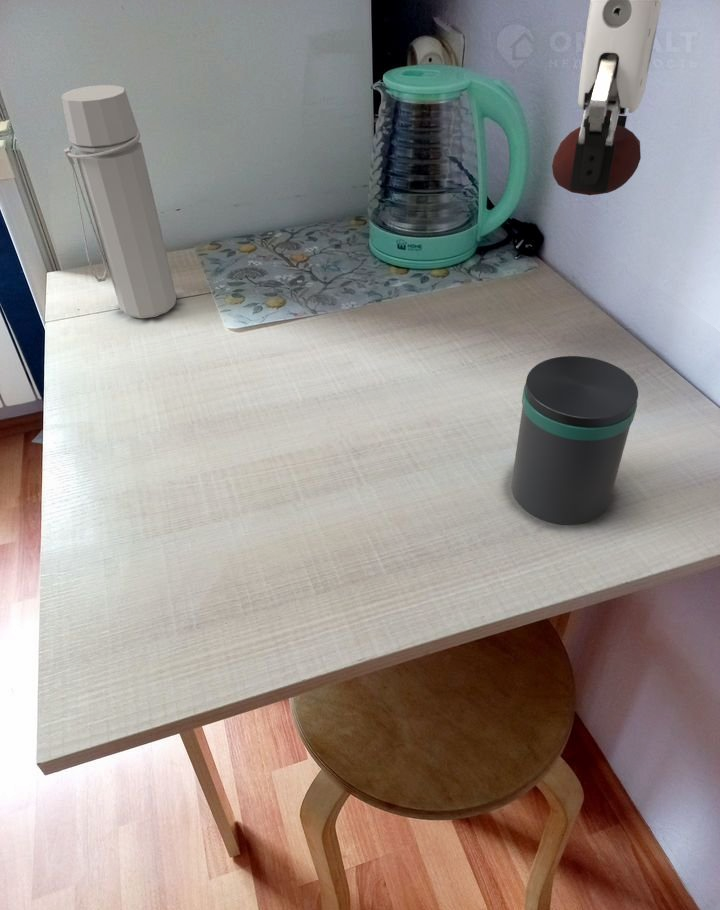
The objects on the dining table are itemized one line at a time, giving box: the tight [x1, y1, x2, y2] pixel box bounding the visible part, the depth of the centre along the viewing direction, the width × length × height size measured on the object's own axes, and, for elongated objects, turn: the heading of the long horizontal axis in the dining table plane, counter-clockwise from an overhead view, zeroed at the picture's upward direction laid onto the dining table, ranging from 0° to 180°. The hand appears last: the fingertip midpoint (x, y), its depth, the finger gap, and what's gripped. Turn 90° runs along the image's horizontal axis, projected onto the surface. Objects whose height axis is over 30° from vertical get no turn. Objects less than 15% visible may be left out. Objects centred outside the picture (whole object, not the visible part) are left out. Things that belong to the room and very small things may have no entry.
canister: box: [511, 355, 639, 526], centre depth 58 cm, size 9×9×11 cm
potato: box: [551, 125, 642, 196], centre depth 65 cm, size 7×8×6 cm
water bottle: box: [61, 84, 177, 319], centre depth 82 cm, size 9×8×25 cm
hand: (595, 173), depth 66 cm, fingers closed on potato, 8 cm apart
